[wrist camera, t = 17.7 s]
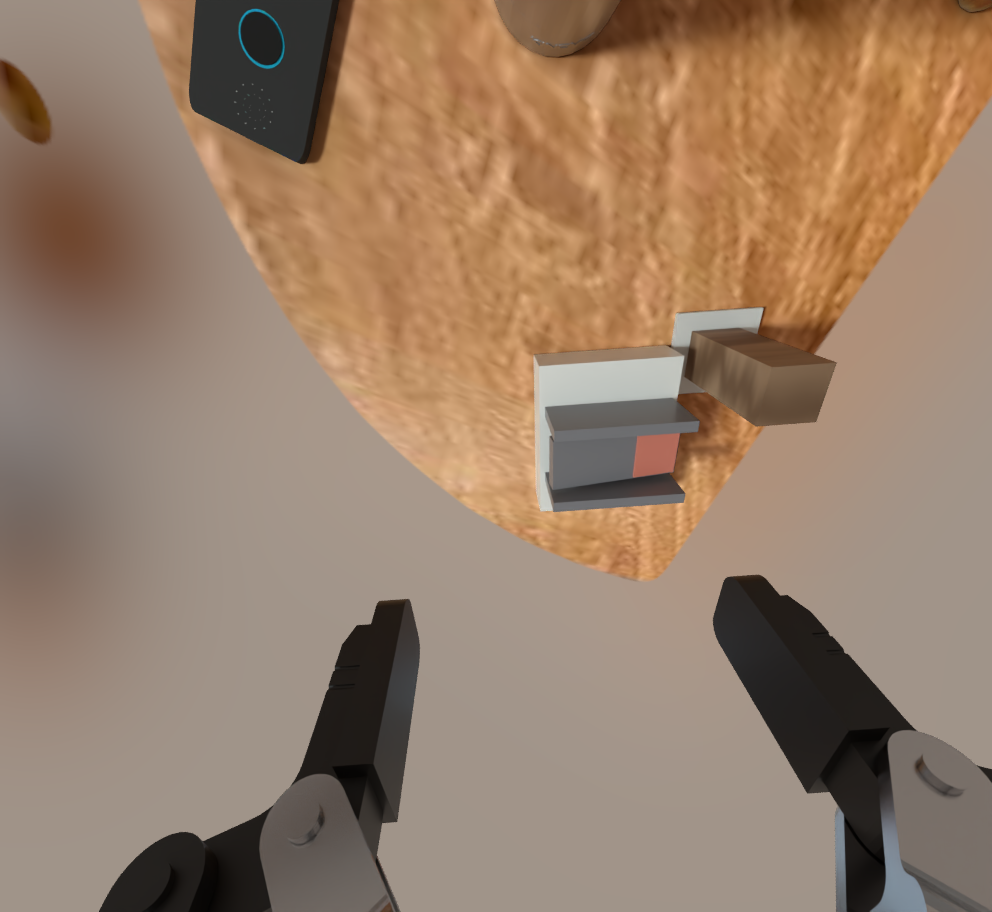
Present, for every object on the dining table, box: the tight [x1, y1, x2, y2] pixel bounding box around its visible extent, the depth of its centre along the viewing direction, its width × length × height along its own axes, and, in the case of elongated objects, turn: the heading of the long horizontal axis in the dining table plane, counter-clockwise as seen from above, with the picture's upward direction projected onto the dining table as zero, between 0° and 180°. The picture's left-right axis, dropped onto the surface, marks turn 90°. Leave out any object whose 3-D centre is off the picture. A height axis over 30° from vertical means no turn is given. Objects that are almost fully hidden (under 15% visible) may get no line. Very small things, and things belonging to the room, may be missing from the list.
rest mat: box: [671, 307, 763, 394], centre depth 40 cm, size 8×8×1 cm
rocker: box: [549, 433, 681, 490], centre depth 37 cm, size 5×12×1 cm, turn 93°
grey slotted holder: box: [534, 345, 700, 512], centre depth 39 cm, size 16×13×9 cm
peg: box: [684, 328, 836, 426], centre depth 34 cm, size 4×4×12 cm
